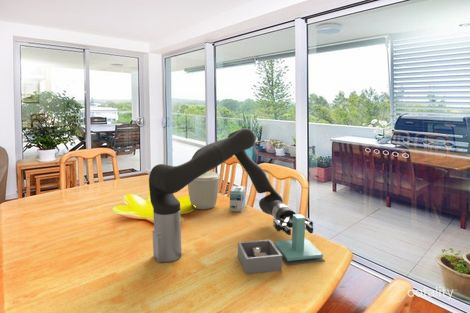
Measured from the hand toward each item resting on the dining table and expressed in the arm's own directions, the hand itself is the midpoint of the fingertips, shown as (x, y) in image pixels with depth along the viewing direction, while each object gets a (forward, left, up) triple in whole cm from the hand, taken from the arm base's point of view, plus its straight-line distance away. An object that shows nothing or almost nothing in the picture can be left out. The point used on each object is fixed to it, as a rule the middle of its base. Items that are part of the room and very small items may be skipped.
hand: (301, 231), depth 108 cm
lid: (+1, +2, -9) cm, 9 cm away
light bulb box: (+10, +56, -10) cm, 58 cm away
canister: (-5, +67, -10) cm, 68 cm away
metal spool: (-14, +6, -9) cm, 18 cm away
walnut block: (-16, +1, -9) cm, 19 cm away
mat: (+1, +2, -10) cm, 10 cm away
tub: (-15, +4, -10) cm, 19 cm away
